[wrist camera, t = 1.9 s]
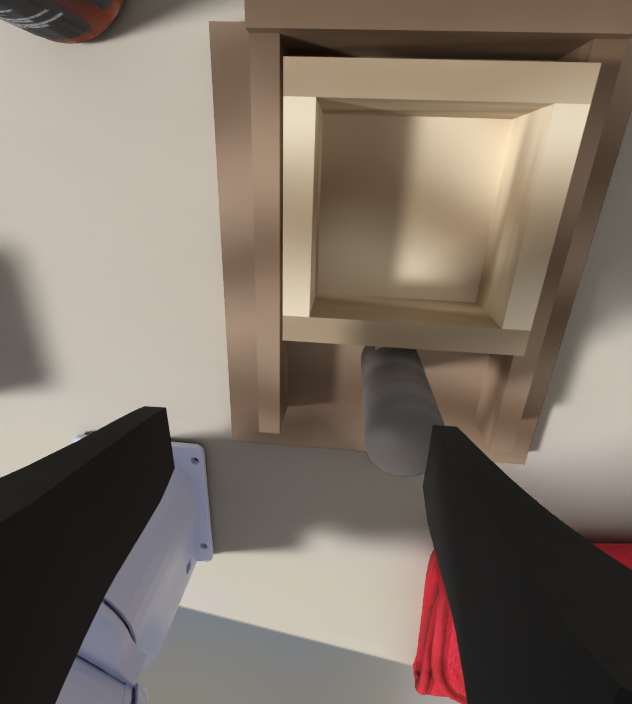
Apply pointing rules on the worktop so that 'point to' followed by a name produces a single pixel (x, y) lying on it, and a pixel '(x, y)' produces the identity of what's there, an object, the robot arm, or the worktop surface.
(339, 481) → the worktop surface
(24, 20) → the supplement bottle
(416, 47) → the bay
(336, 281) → the drawer
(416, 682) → the dish drying mat
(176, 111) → the worktop surface
